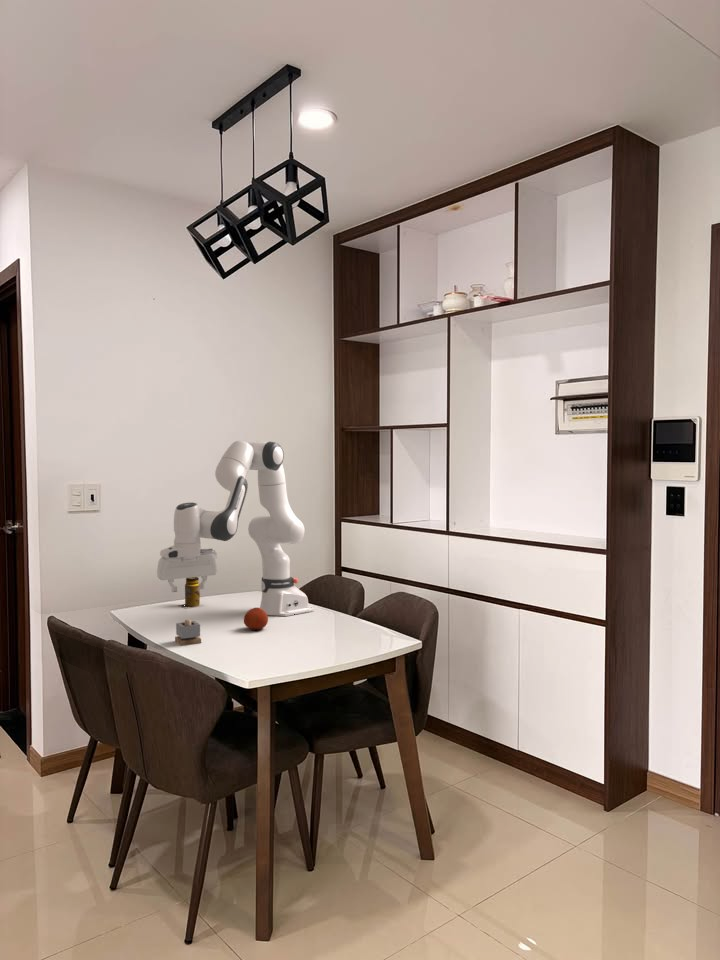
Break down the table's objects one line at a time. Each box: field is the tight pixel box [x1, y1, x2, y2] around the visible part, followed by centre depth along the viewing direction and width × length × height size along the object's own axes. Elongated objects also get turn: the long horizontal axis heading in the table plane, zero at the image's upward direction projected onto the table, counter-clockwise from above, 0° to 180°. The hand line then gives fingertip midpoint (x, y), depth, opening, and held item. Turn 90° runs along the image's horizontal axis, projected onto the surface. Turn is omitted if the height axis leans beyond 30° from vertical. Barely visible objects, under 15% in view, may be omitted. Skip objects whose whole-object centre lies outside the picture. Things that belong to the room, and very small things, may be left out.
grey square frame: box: [175, 620, 201, 639], centre depth 254 cm, size 6×6×4 cm
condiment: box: [177, 577, 204, 609], centre depth 310 cm, size 7×8×12 cm
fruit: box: [243, 607, 269, 630], centre depth 272 cm, size 9×9×8 cm
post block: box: [174, 619, 202, 647], centre depth 254 cm, size 7×7×8 cm
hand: (188, 590), depth 253 cm, fingers open, 8 cm apart
